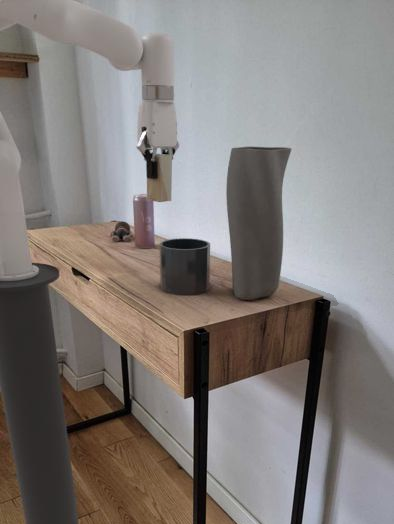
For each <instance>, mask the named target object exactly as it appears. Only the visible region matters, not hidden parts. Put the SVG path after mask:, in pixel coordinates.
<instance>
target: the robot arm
mask: <svg viewBox="0 0 394 524" xmlns="http://www.w3.org/2000/svg"><path fill="white" fill-rule="evenodd" d="M17 24H18V25H19V26H22V27H24V28H27V29H28V30H31V31H33V32H34V33H38V34H39V35H41V36H43V37H45V38H47V39H49V40H52V41H54V42H56V43H60V44H63V45H74V46H78V47H79V48H83V49H86V50H88V51H91V52H93V53H95V54H97V55H98V56H101V57H104V58H105V59H107V60H108V63H109V64H110V66H112V67H113V68H114V69H116V70H118V71H121V72H129V71H130V72H131V71H139V70H140V71H141V72H140V74H141V75H140V76H141V77H140V78H141V101H140V102H139V106H138V112H137V113H138V114H137V127H136V128H137V131H136V132H137V134H136V137H137V144H136V149H137V150H138V151H139V153H140V154H141V155H142V157H143V161H145V171H146V172H145V173H146V179H147V178H151V179H157V178H158V165H157V161H155V160H156V154H158V153H157V152H158V149H160V154H167V155H172V161H173V160H174V156H175V154H176V152H177V150H178V149H179V148H180V143H179V141H178V122H177V120H178V119H177V109H176V105H175V63H174V62H175V42H174V39H173V37H172V36H171V35H170V34H168V33H163V32H147V33H144V34H143V35H142V36H140V34H139V33H138V31H136V30H135V29H134V28H133V27H132V26H130V25H129V24H126V23H124V22H122V21H120V20H119V19H116V18H115V17H113V16H110V15H109V14H107V13H104V12H102V11H100V10H98V9H96V8H93V7H91V6H88V5H86V4H83V3H81V2H78V1H76V0H0V32H2V31H5V30H7V29H8V28H11V27H12V26H16V25H17ZM21 157H22V156H21V154H20V151H19V149H18V147H17V143H16V142H15V140H14V138H13V136H12V134H11V131H10V129H9V127H8V125H7V122H6V120H5V118H4V116H3V114H2V111H0V281H18V280H24V279H28V278H32V277H34V276H36V275H38V273H39V268H38V267H37V266H34V265H32V263H33V262H32V256H31V250H30V249H31V248H30V242H29V236H28V235H29V233H28V228H27V221H26V213H25V207H24V200H23V193H22V188H21V183H20V176H19V172H20V170H21V167H22V158H21Z"/></svg>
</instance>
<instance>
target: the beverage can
mask: <svg viewBox="0 0 394 524" xmlns="http://www.w3.org/2000/svg"><path fill="white" fill-rule="evenodd" d="M132 197H133V198H132V209H133V232H134V233H135V236H134V245H135V247H136V248H138V249H151V248H154V247H155V244H156V242H155V240H156V239H155V237H156V236H155V207H154V206H155V205H154V201H151V200H147V193H137V194H133V196H132Z"/></svg>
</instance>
